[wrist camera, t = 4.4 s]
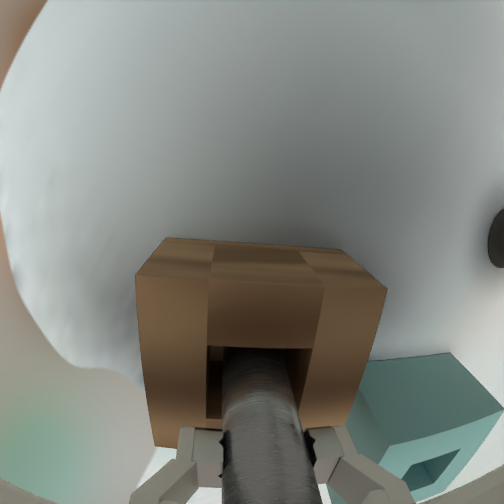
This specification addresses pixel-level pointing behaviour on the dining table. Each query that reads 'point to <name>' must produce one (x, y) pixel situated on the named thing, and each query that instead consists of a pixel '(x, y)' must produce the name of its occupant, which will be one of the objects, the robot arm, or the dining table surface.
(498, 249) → the sundae
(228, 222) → the dining table surface
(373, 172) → the dining table surface
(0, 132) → the dining table surface
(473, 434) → the teal storage box
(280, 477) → the peg
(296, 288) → the socket
